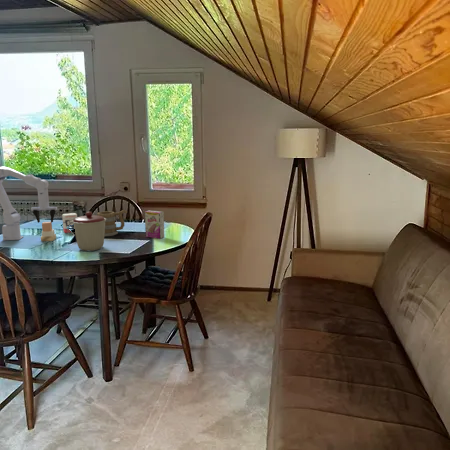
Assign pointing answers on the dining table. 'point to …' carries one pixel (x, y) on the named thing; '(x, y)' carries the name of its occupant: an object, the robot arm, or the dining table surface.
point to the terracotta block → (47, 226)
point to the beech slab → (48, 238)
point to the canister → (89, 231)
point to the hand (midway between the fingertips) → (45, 222)
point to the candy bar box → (154, 224)
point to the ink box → (68, 221)
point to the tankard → (112, 222)
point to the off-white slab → (48, 233)
